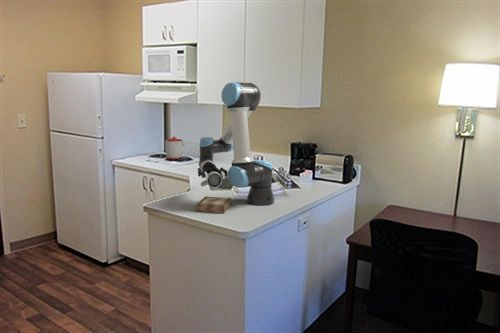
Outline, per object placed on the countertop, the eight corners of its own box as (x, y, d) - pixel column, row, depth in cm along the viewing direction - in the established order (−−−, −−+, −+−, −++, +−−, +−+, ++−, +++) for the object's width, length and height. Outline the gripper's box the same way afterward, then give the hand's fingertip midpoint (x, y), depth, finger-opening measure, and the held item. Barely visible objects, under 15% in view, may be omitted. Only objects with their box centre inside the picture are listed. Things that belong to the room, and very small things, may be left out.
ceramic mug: (220, 184, 216) (220, 169, 214) (222, 187, 208) (222, 172, 206) (200, 184, 214) (200, 170, 213) (200, 188, 206) (200, 173, 205)
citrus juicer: (186, 160, 355) (186, 137, 351) (166, 161, 350) (165, 137, 346) (183, 157, 370) (183, 135, 366) (163, 158, 364) (163, 135, 361)
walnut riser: (230, 205, 219) (231, 197, 218) (224, 213, 204) (224, 205, 204) (205, 203, 221) (205, 195, 221) (197, 211, 207) (197, 203, 206)
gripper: (227, 174, 230) (235, 183, 208) (189, 175, 225) (194, 184, 203) (227, 161, 229) (235, 168, 207) (189, 161, 224) (194, 169, 202)
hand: (215, 176), depth 205 cm, fingers closed on ceramic mug, 8 cm apart
